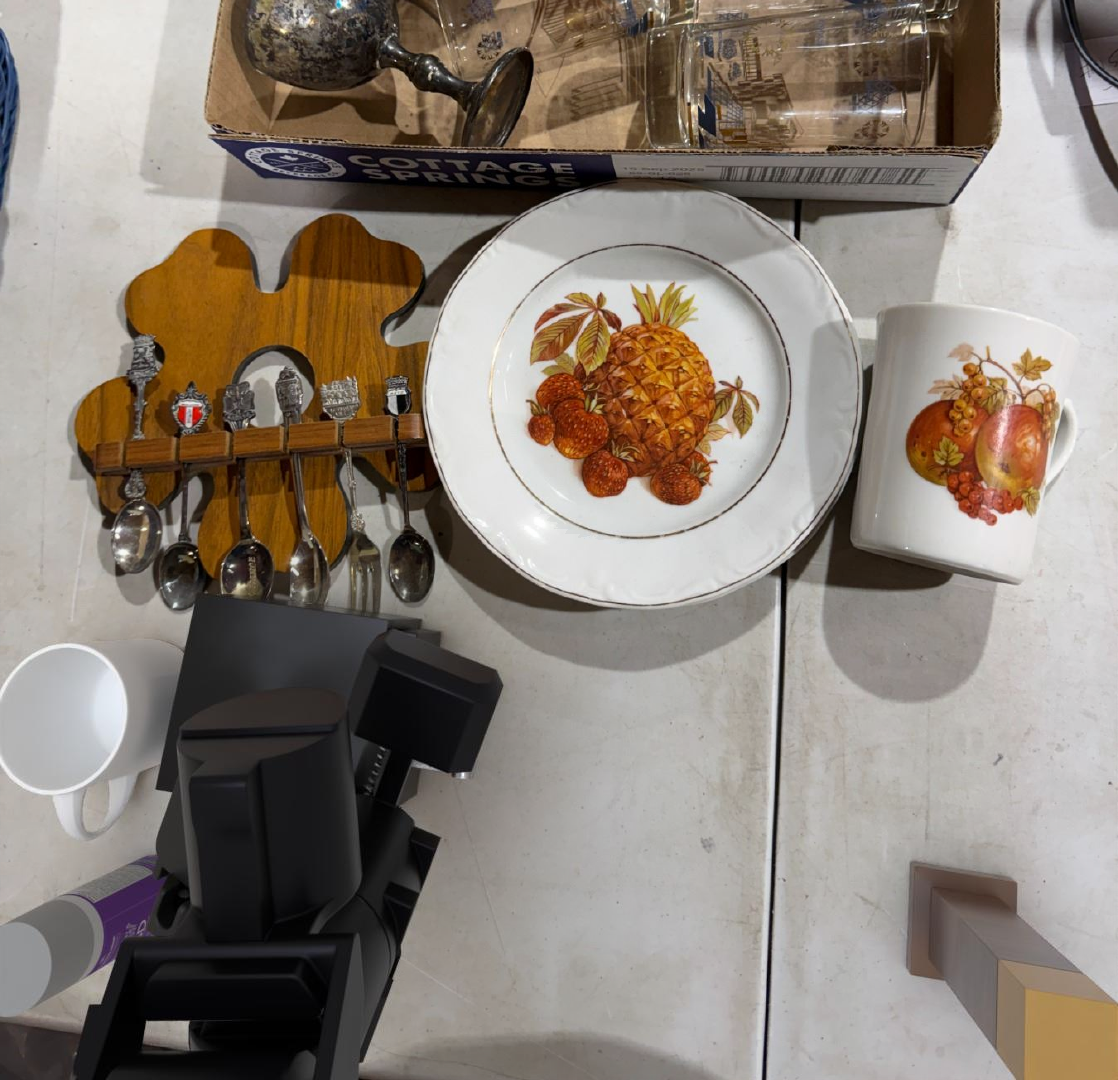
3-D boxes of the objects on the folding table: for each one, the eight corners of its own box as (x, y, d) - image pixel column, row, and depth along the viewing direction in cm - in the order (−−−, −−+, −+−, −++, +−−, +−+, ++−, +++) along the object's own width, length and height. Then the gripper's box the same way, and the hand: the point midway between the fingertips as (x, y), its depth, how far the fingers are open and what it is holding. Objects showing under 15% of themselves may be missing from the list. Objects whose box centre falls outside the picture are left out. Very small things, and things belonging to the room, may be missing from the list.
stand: (1009, 986, 61) (1108, 1098, 47) (906, 968, 62) (973, 1072, 48) (1011, 877, 62) (1107, 954, 48) (910, 861, 63) (976, 932, 49)
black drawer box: (422, 618, 70) (388, 619, 62) (394, 798, 67) (355, 824, 59) (251, 594, 72) (196, 592, 64) (216, 768, 69) (154, 789, 61)
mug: (74, 819, 69) (-30, 856, 59) (98, 636, 72) (2, 641, 62) (194, 824, 68) (109, 863, 58) (213, 639, 72) (135, 644, 61)
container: (182, 934, 67) (46, 1023, 52) (114, 930, 67) (-38, 1017, 53) (189, 856, 68) (59, 921, 54) (123, 853, 68) (-23, 917, 54)
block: (1085, 1069, 47) (1121, 1110, 44) (995, 1052, 48) (1023, 1091, 44) (1085, 974, 48) (1121, 1005, 44) (997, 958, 49) (1025, 988, 45)
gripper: (201, 646, 38) (331, 543, 54) (47, 1085, 39) (218, 861, 55) (476, 758, 37) (528, 621, 53) (310, 1203, 39) (408, 941, 54)
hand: (413, 761), depth 54 cm, fingers open, 9 cm apart
